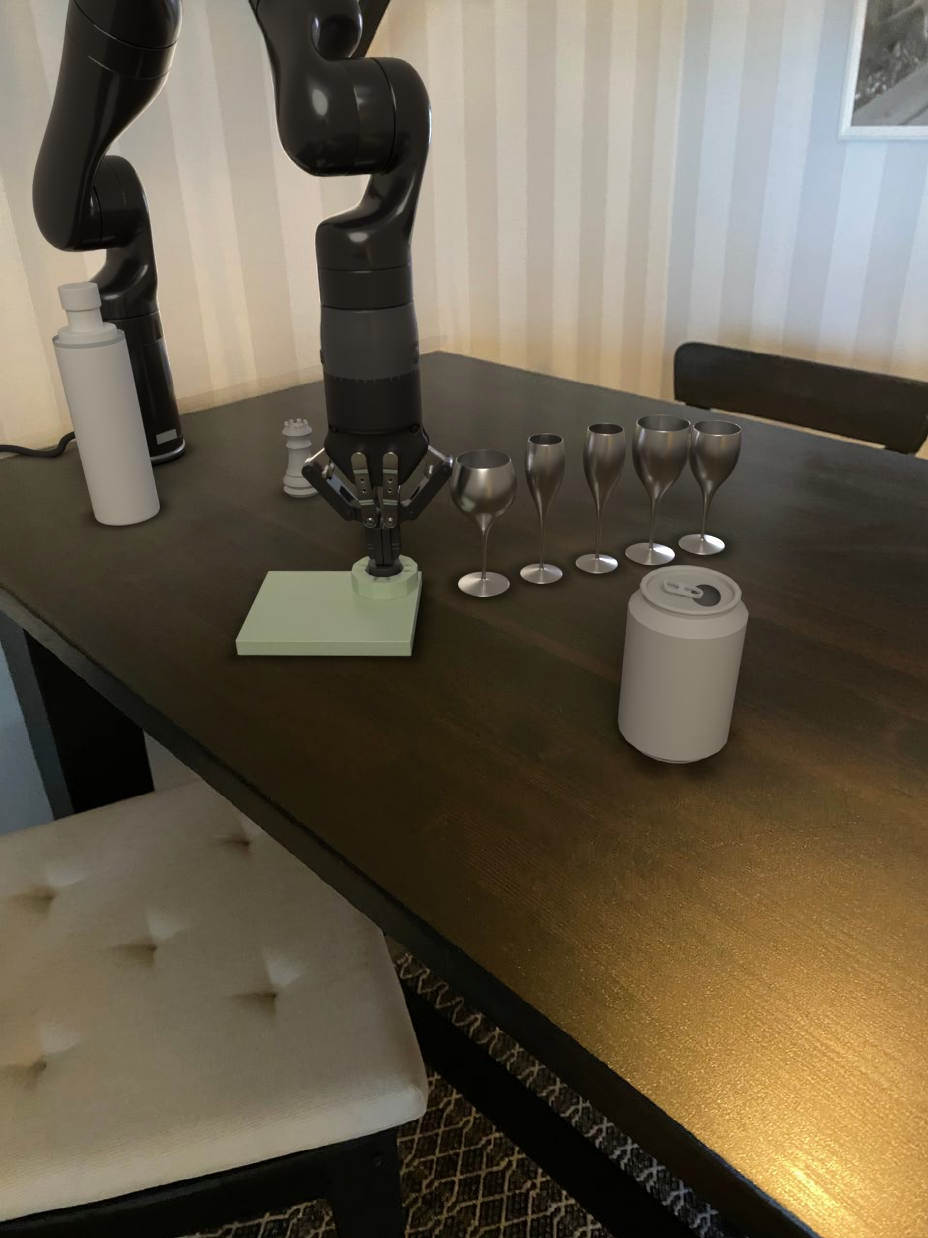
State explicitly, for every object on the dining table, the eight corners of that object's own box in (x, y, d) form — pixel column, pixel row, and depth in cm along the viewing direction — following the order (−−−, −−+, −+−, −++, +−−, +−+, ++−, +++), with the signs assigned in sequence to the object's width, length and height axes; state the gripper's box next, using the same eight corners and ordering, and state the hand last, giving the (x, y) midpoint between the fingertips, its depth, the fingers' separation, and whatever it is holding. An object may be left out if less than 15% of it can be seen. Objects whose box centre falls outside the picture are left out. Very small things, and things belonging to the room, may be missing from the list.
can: (729, 777, 59) (757, 620, 53) (613, 764, 60) (627, 608, 54) (724, 710, 65) (748, 562, 59) (619, 699, 66) (632, 553, 60)
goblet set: (705, 529, 91) (723, 401, 84) (738, 553, 87) (760, 419, 80) (443, 576, 84) (439, 438, 77) (464, 605, 79) (462, 461, 72)
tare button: (367, 587, 78) (365, 569, 77) (371, 572, 80) (370, 554, 80) (399, 587, 78) (398, 569, 77) (402, 572, 80) (401, 554, 79)
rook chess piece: (291, 501, 99) (282, 431, 95) (278, 488, 102) (270, 419, 98) (329, 494, 101) (322, 424, 97) (316, 480, 104) (309, 413, 100)
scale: (237, 655, 72) (232, 623, 71) (271, 582, 83) (266, 553, 81) (411, 656, 72) (409, 624, 70) (422, 582, 83) (421, 553, 81)
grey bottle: (166, 499, 100) (119, 260, 87) (151, 524, 94) (99, 273, 82) (105, 501, 100) (49, 262, 87) (87, 527, 94) (23, 274, 81)
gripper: (458, 348, 72) (462, 543, 81) (295, 349, 73) (317, 543, 82) (454, 374, 66) (459, 582, 75) (275, 375, 66) (301, 582, 75)
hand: (384, 561), depth 78 cm, fingers closed
